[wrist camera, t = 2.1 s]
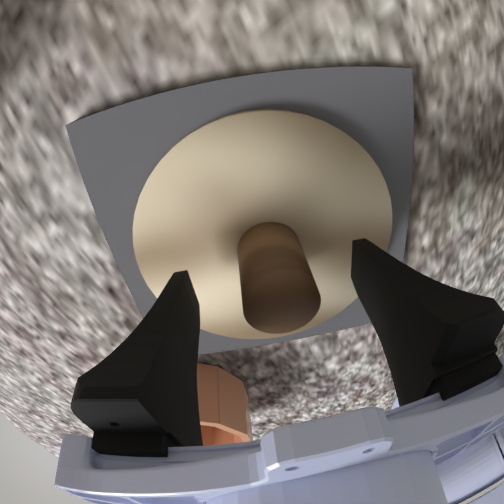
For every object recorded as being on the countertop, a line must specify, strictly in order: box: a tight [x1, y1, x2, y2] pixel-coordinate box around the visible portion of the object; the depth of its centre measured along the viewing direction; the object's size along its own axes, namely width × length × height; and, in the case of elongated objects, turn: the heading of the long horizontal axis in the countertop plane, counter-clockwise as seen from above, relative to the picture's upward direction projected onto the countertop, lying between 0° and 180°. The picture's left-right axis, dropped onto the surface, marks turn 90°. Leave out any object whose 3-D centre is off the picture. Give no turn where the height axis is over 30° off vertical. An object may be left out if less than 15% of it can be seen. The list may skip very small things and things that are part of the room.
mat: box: [66, 66, 414, 355], centre depth 16 cm, size 16×16×1 cm
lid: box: [133, 109, 392, 339], centre depth 14 cm, size 13×13×5 cm
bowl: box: [197, 363, 253, 446], centre depth 23 cm, size 11×11×5 cm
